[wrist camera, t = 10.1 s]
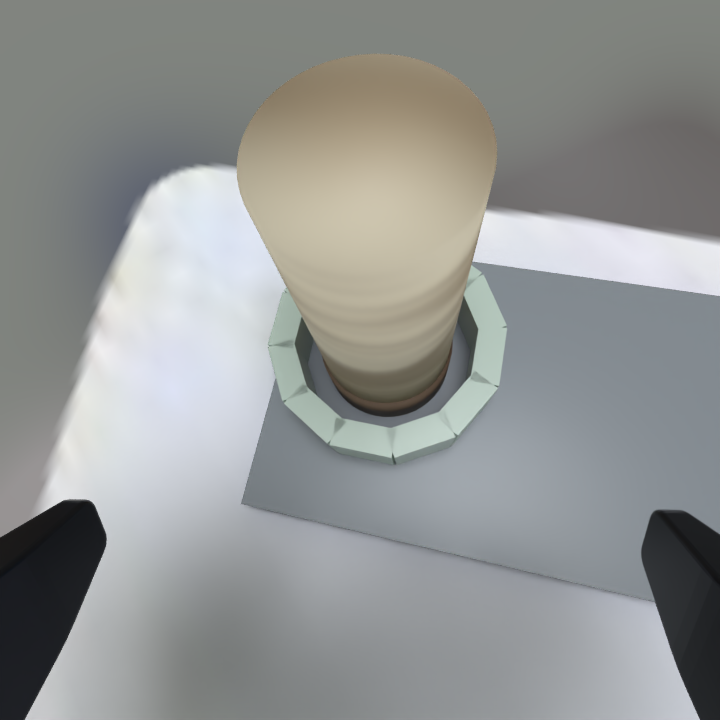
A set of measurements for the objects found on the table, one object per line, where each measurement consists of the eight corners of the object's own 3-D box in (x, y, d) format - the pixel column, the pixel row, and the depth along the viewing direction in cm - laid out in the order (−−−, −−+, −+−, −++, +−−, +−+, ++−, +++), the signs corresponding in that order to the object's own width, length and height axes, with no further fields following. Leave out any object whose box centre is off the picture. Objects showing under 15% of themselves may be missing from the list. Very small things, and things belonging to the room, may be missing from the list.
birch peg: (437, 428, 19) (480, 295, 8) (316, 403, 20) (196, 250, 9) (457, 313, 21) (519, 61, 9) (343, 295, 21) (272, 40, 10)
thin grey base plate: (828, 326, 20) (916, 286, 17) (847, 645, 17) (964, 680, 13) (318, 253, 24) (302, 207, 20) (250, 504, 20) (216, 502, 17)
